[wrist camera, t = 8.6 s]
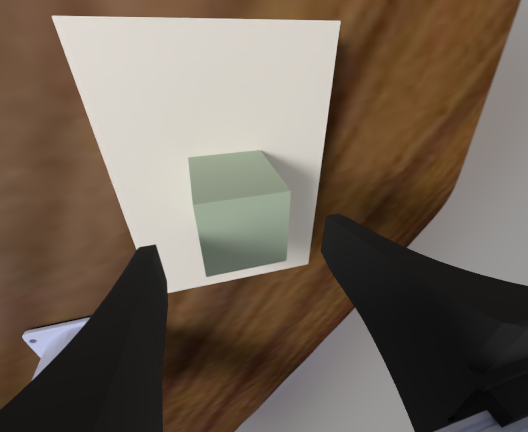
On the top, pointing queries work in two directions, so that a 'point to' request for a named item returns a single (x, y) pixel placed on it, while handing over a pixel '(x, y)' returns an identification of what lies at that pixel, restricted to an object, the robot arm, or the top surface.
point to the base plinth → (202, 117)
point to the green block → (239, 211)
